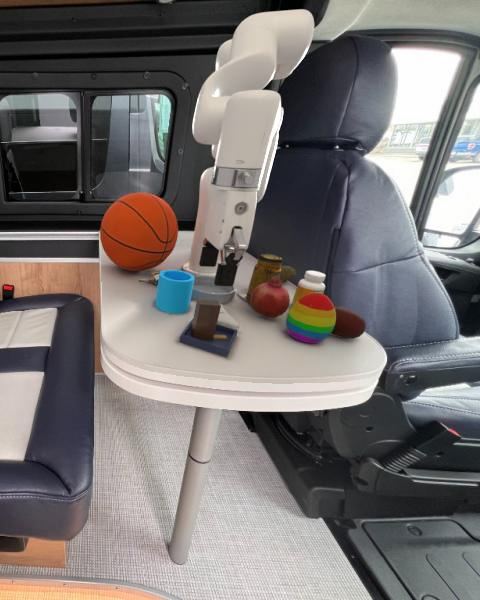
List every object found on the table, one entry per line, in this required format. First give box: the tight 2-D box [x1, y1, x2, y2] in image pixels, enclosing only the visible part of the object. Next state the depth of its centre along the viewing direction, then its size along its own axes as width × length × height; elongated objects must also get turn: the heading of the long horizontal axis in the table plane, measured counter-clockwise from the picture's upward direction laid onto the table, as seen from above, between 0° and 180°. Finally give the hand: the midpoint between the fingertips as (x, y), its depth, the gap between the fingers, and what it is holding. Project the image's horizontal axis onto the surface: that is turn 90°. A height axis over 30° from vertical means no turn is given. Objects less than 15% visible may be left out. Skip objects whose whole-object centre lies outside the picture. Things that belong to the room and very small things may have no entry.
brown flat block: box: [190, 299, 227, 341], centre depth 64 cm, size 2×7×8 cm, turn 86°
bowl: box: [191, 276, 237, 305], centre depth 87 cm, size 13×13×3 cm
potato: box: [330, 305, 367, 340], centre depth 68 cm, size 8×9×6 cm
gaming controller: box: [217, 304, 240, 331], centre depth 72 cm, size 10×4×7 cm
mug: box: [154, 269, 195, 315], centre depth 80 cm, size 12×8×8 cm
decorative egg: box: [285, 293, 336, 344], centre depth 66 cm, size 8×8×10 cm
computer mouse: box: [138, 270, 162, 287], centre depth 92 cm, size 7×15×4 cm, turn 88°
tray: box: [178, 318, 239, 358], centre depth 66 cm, size 9×9×2 cm
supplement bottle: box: [290, 270, 326, 308], centre depth 78 cm, size 5×5×10 cm
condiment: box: [238, 253, 284, 304], centre depth 82 cm, size 7×8×12 cm
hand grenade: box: [279, 265, 296, 284], centre depth 97 cm, size 5×6×10 cm
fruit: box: [249, 277, 291, 319], centre depth 74 cm, size 8×8×10 cm
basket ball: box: [99, 191, 179, 272], centre depth 100 cm, size 24×24×24 cm
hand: (214, 275), depth 61 cm, fingers open, 9 cm apart
